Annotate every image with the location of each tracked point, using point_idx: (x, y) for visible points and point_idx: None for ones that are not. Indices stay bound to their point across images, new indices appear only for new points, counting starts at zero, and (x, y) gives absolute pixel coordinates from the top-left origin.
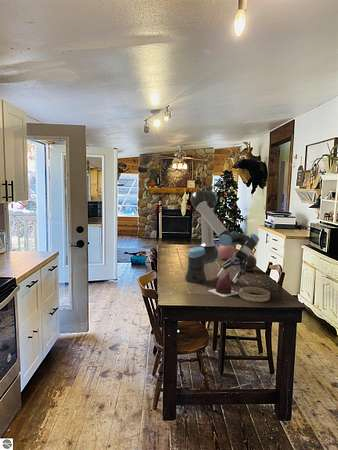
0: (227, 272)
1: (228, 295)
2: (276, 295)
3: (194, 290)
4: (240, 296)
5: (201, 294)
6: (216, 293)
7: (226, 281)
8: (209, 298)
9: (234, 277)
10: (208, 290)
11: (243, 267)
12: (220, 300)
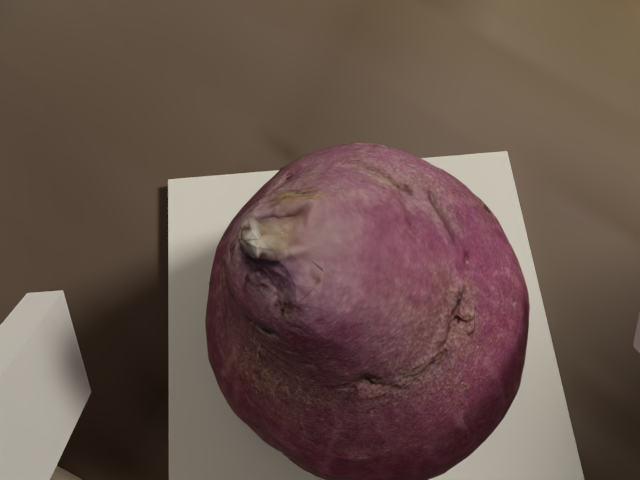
0: (271, 215)
1: (170, 287)
2: None
3: (586, 21)
4: None
5: (400, 9)
6: None
7: (228, 232)
8: (224, 7)
9: (4, 360)
10: (497, 155)
11: None
12: (92, 75)
